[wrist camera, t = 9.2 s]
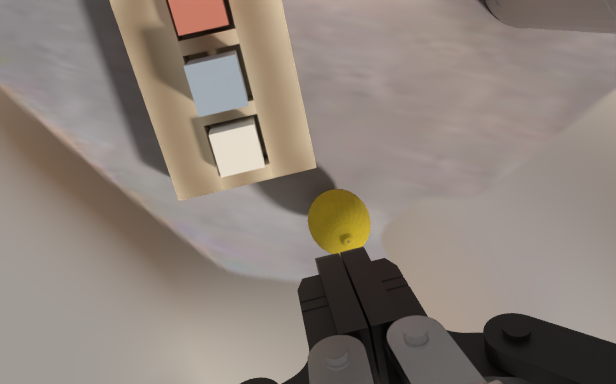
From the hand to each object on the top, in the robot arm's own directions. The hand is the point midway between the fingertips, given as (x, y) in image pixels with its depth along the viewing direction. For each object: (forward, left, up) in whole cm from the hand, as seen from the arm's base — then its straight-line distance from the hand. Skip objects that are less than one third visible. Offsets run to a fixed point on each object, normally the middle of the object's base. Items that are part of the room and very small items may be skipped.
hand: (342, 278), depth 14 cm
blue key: (+4, -4, -25) cm, 26 cm away
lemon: (-3, +11, -29) cm, 31 cm away
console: (+4, -4, -29) cm, 29 cm away
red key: (+4, -9, -27) cm, 29 cm away
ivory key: (+4, +2, -27) cm, 28 cm away
